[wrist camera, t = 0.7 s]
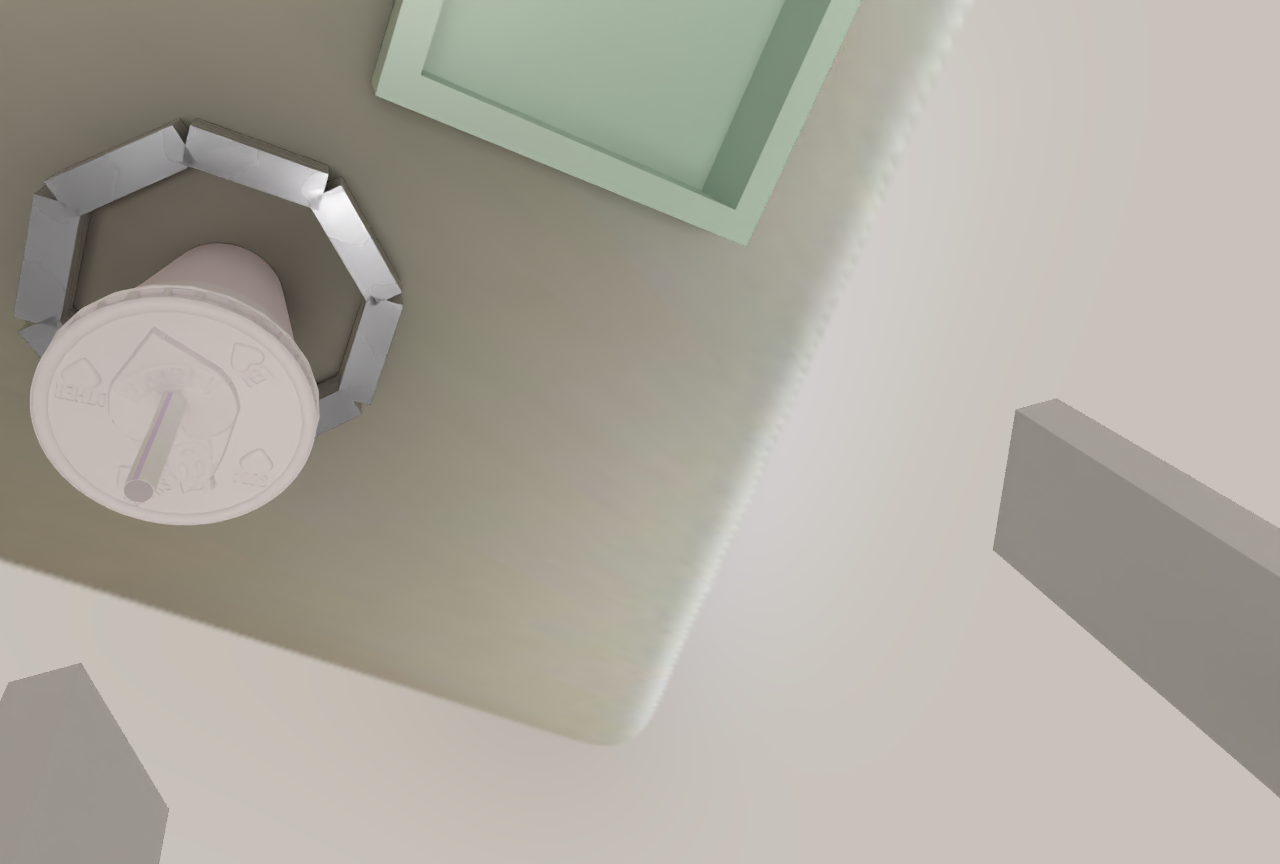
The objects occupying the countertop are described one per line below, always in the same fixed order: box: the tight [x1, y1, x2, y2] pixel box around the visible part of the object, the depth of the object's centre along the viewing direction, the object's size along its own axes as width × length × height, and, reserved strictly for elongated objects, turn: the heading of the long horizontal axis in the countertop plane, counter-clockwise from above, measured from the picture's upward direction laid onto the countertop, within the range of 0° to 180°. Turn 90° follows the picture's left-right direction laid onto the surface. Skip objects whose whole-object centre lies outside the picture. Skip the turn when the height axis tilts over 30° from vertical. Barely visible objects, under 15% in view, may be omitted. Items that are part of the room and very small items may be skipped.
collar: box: [13, 118, 403, 436], centre depth 28 cm, size 11×11×2 cm
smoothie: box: [30, 243, 320, 525], centre depth 23 cm, size 6×6×14 cm
